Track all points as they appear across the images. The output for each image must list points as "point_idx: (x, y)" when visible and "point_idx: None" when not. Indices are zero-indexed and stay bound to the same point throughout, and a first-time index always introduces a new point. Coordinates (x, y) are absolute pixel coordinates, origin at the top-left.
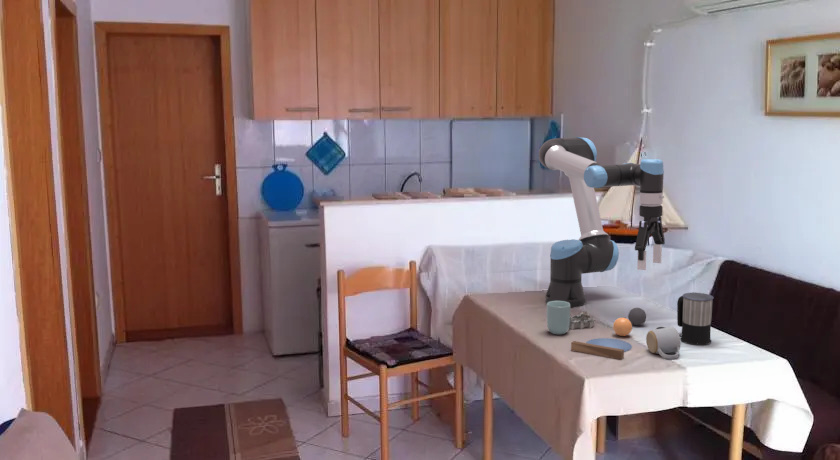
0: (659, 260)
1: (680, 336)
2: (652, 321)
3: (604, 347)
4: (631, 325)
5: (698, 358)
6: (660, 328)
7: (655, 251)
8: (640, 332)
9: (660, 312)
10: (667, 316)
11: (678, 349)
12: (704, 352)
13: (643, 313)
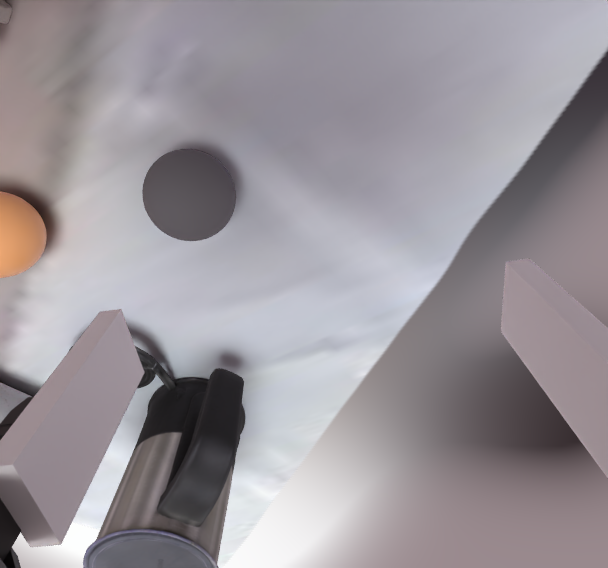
0: (512, 338)
1: (167, 387)
2: (302, 204)
3: None
4: (13, 275)
5: None
6: None
7: (569, 355)
8: (122, 248)
9: (473, 154)
10: (423, 213)
11: None
12: (119, 467)
13: (184, 239)
